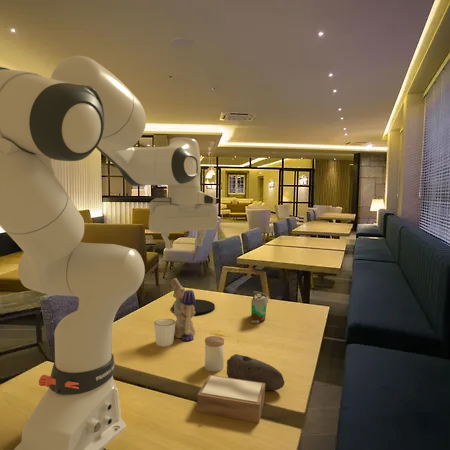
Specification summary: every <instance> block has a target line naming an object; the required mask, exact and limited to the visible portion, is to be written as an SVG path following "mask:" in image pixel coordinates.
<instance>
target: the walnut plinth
mask: <svg viewBox="0 0 450 450" xmlns="http://www.w3.org/2000/svg"><path fill="white" fill-rule="evenodd" d="M196 396H197V398H196V399H197V404H196V405H197V407H196V409H197V410H196V412H199V413H205V414H209V415H214V416H220V417H226V418H231V419H237V420H241V421H247V422H254V423H260V421H261V415H262V412H263V409H264V404H265V399H266V390H265V383H261V382H254V381H247V380H241V379H234V378H228V376H227V377H225V376H220V375H213V374H209V375H208V376H207V378H206V380H205V381H204V383H203V385H202V386H201V388H200V389H199V391H198V393H197V395H196Z"/></svg>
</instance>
